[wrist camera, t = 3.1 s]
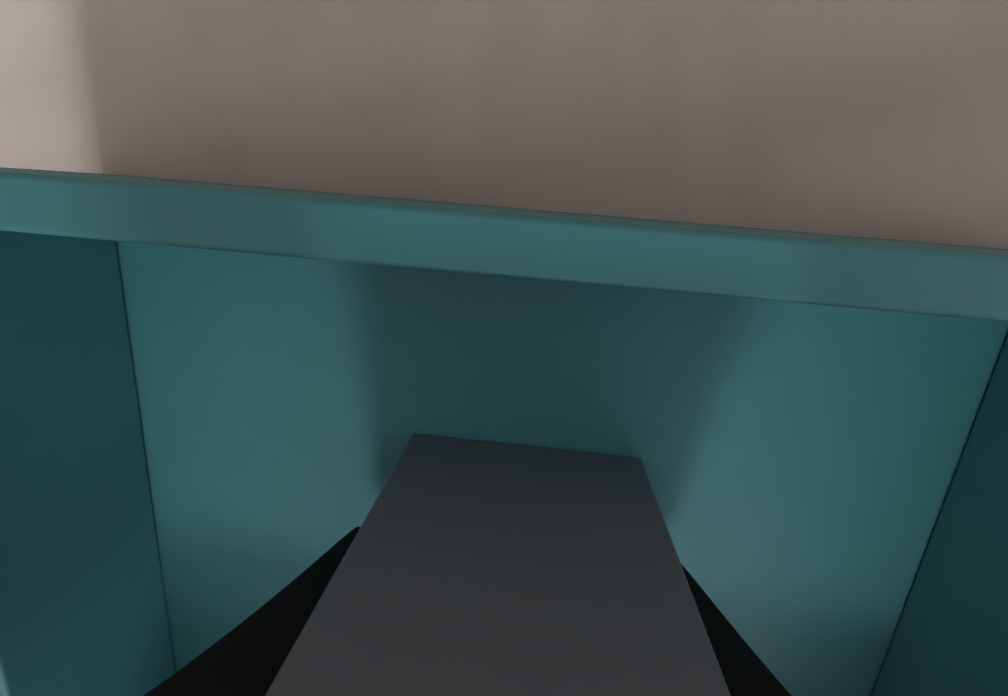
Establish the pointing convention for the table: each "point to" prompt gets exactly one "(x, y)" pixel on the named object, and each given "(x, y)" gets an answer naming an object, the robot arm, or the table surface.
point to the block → (507, 585)
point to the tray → (489, 414)
